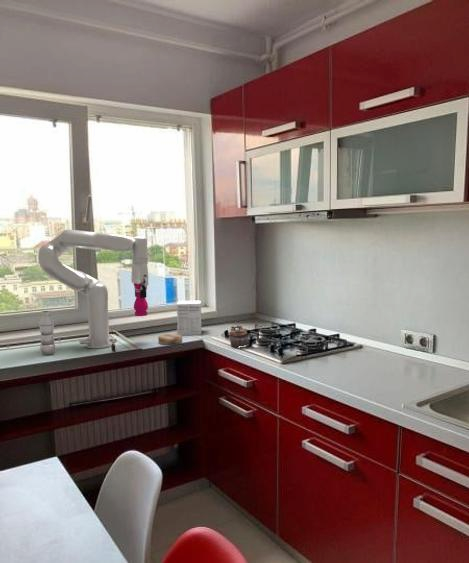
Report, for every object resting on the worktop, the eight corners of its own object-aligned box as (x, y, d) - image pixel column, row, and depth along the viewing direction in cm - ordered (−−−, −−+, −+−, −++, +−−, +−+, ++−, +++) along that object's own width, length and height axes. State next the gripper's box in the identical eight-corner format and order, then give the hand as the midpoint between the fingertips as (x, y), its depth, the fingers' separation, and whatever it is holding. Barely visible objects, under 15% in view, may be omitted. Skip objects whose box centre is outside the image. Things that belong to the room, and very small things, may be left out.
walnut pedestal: (166, 345, 228) (165, 339, 228) (154, 341, 237) (154, 336, 237) (186, 342, 235) (186, 336, 235) (174, 338, 245) (174, 333, 244)
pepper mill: (151, 314, 236) (150, 275, 235) (141, 316, 230) (140, 276, 229) (140, 313, 240) (139, 275, 238) (130, 315, 234) (129, 276, 232)
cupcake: (240, 349, 218) (240, 328, 217) (225, 346, 224) (224, 326, 223) (253, 345, 225) (252, 325, 224) (237, 343, 231) (237, 323, 230)
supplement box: (201, 334, 254) (200, 303, 253) (177, 335, 253) (176, 303, 252) (201, 330, 267) (201, 300, 266) (178, 331, 266) (177, 300, 265)
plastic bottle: (49, 356, 209) (47, 312, 207) (37, 355, 211) (35, 312, 209) (59, 353, 215) (57, 310, 213) (47, 352, 217) (45, 310, 216)
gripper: (125, 261, 237) (126, 296, 239) (141, 261, 224) (141, 299, 225) (138, 260, 242) (139, 295, 243) (154, 261, 229) (155, 298, 230)
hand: (140, 296), depth 234 cm, fingers closed on pepper mill, 5 cm apart
